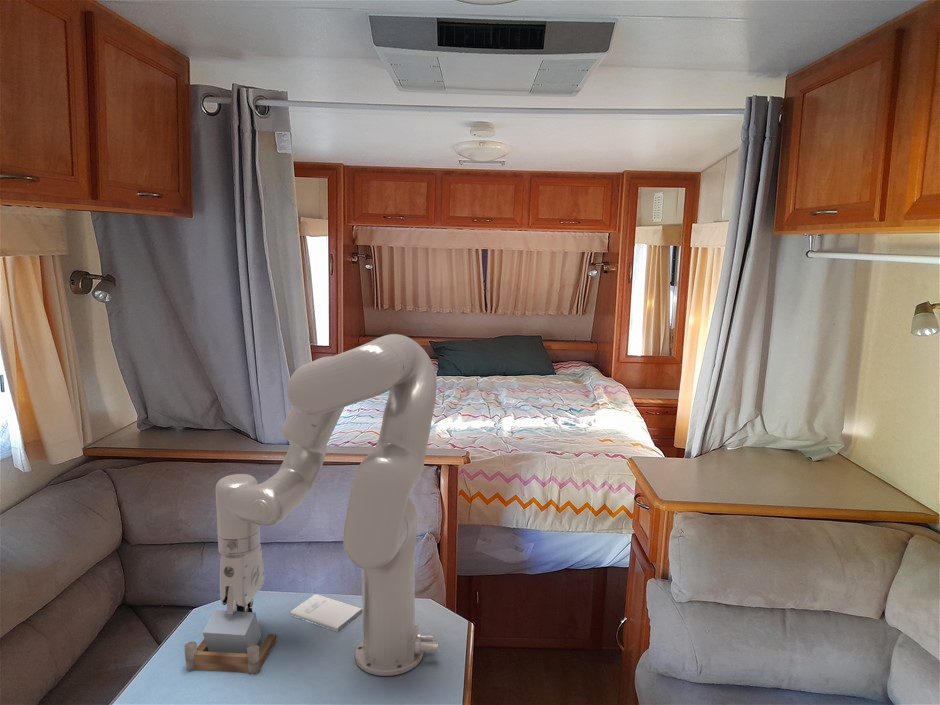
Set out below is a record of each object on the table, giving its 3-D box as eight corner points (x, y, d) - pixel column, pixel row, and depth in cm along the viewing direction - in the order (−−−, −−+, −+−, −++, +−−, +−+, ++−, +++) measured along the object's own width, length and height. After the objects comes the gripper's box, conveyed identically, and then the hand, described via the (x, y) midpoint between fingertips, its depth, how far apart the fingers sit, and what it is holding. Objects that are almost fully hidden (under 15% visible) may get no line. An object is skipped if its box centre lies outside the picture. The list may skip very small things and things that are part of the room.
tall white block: (261, 634, 127) (255, 612, 124) (251, 657, 122) (244, 635, 120) (220, 631, 128) (214, 609, 125) (209, 654, 123) (202, 632, 120)
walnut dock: (277, 641, 127) (276, 619, 126) (257, 674, 117) (256, 651, 117) (209, 637, 128) (208, 616, 127) (183, 670, 118) (182, 647, 118)
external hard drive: (337, 635, 130) (289, 618, 136) (363, 614, 138) (316, 599, 143) (337, 627, 130) (289, 610, 136) (362, 607, 137) (316, 592, 143)
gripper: (241, 560, 118) (246, 653, 121) (273, 524, 132) (276, 608, 135) (201, 557, 118) (206, 651, 121) (237, 522, 133) (241, 606, 136)
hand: (243, 628), depth 128 cm, fingers closed
